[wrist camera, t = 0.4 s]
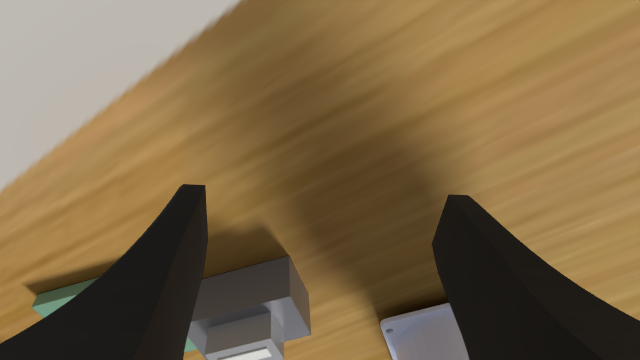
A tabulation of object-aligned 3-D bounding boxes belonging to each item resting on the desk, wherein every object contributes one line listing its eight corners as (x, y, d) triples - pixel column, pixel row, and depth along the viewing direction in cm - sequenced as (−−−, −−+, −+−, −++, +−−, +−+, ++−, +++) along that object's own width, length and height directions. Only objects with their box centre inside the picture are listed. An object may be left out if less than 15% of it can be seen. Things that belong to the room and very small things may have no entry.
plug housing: (308, 294, 31) (313, 362, 27) (212, 318, 32) (203, 389, 28) (288, 255, 29) (291, 324, 25) (186, 283, 30) (172, 354, 26)
